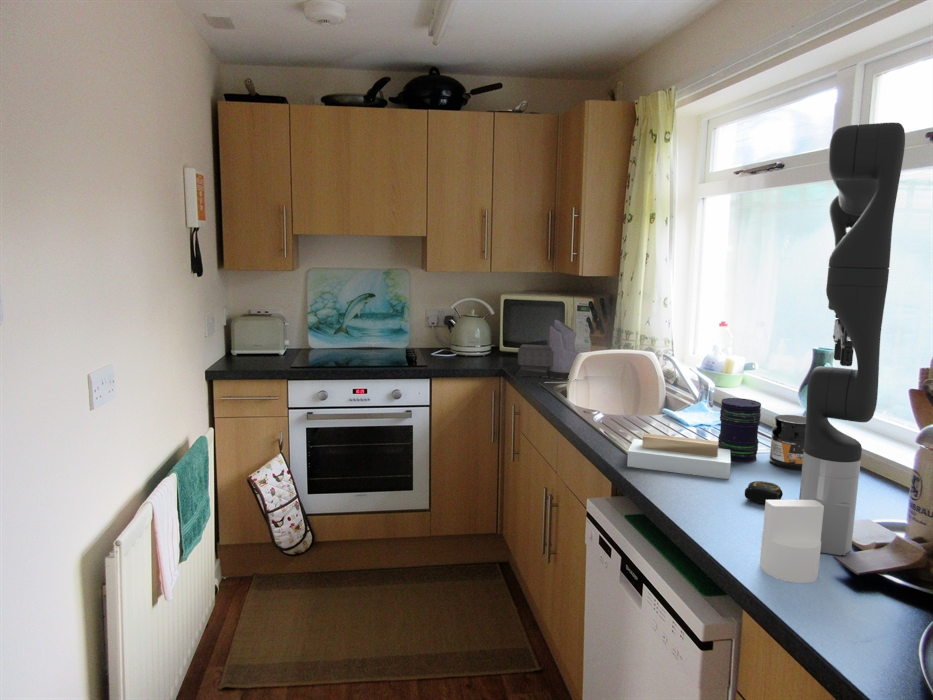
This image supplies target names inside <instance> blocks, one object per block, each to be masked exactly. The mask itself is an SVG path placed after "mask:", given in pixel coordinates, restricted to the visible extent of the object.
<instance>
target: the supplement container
mask: <svg viewBox="0 0 933 700" xmlns="http://www.w3.org/2000/svg"><path fill="white" fill-rule="evenodd" d="M773 422H774V426H773V427H772V428H771V431H770V432H771V438H770V440H771V441H770V448H769V449H770V451H769V457H768V458H769V461H770V462H771V463H772V464H773V465H775V466H778V467H780V468H784V469H788V470H789V469H790V470H796V471H797V470H799V471H802V465H803V454H804V443H805V429H806V416H802V415H797V414H796V415H795V414H778V415H776V416H775V417H774V421H773Z"/></svg>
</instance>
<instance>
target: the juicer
mask: <svg viewBox="0 0 933 700" xmlns="http://www.w3.org/2000/svg"><path fill="white" fill-rule="evenodd" d="M576 337H577V332H576V331H575V330H574V329H573V328H571V327H570V326H568V325H567V324H566V323H564V322H561V321H560V320H558V319H554V326H552V325H550V327H549V343H548V344H549V345H548V344H547V345H546V344H526V343H523V344H521V345H520V346H519V348H518V349H517V364H518V365H519V367H520V368H519V369H518V371H517V372H516V373H515V374H514V376H515V375H524V376H548V377H553V378H563V379H567V378H568V375H569V371H570V368H571V366H572V364H573V362H574V360H575V358H576V356H577V355H578V354H580V352H579V351H577V350H576Z"/></svg>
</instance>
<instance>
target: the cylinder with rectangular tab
mask: <svg viewBox="0 0 933 700" xmlns="http://www.w3.org/2000/svg"><path fill="white" fill-rule="evenodd" d="M823 512H824V506H823V505H822V504H821V503H820V502H818V501H816V500H799V499H781V500H766V501H765V504H764V512H763V513H764V516H763V527H762V531H761V532H762V533H761V546H760V556H759V568H760V569H761V570H762V571H763V572H764V573H765V574H767V575H769V576H771V577H772V578H775V579H777V580H781V581H785V582H789V583H796V584H806V583H807V584H808V583H812V582H815V581H817V579H818V578H819V570H820V569H819V568H820V560H821V559H820V558H821V552H820V550H821V532H822V522H823Z"/></svg>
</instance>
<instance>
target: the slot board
mask: <svg viewBox="0 0 933 700" xmlns="http://www.w3.org/2000/svg"><path fill="white" fill-rule="evenodd" d="M642 442H643V439H638V438H637V439H636V438H633V440H632V441H631V444H630V446H629V447H628V450H627V465H626V467H630V468H636V469H637V468H638V469H643V470H644V469H645V470H651V471H652V470H653V471H661V472H669V473H678V474H684V475H691V474H692V475H691V476H693V475H694V476H701V477H707V478H716V479H722V480H723V479H725V480H730V477H731V476H730V475H731V467H732V466H731V463H732V461H731V458H730V450H729V449H720V448H718V455H717V457H714V456H705V455H697V454H689V453H680V452H672V451H663V450H653V449H646V448H642Z"/></svg>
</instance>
